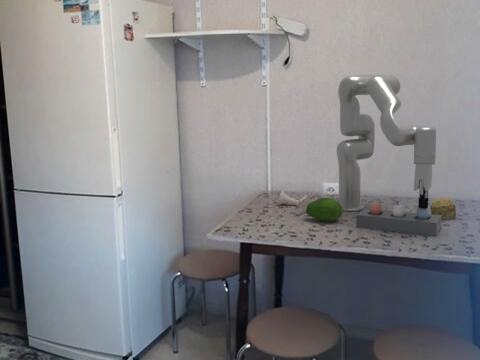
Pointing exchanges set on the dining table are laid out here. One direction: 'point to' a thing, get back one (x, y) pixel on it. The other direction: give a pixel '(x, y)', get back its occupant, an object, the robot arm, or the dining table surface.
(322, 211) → the fruit
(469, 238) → the dining table surface
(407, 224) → the grey rectangular block
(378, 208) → the brown egg
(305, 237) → the dining table surface
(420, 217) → the light blue rounded cylinder
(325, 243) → the dining table surface
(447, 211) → the rock
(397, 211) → the white rounded oval piece
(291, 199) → the toilet paper hanger
